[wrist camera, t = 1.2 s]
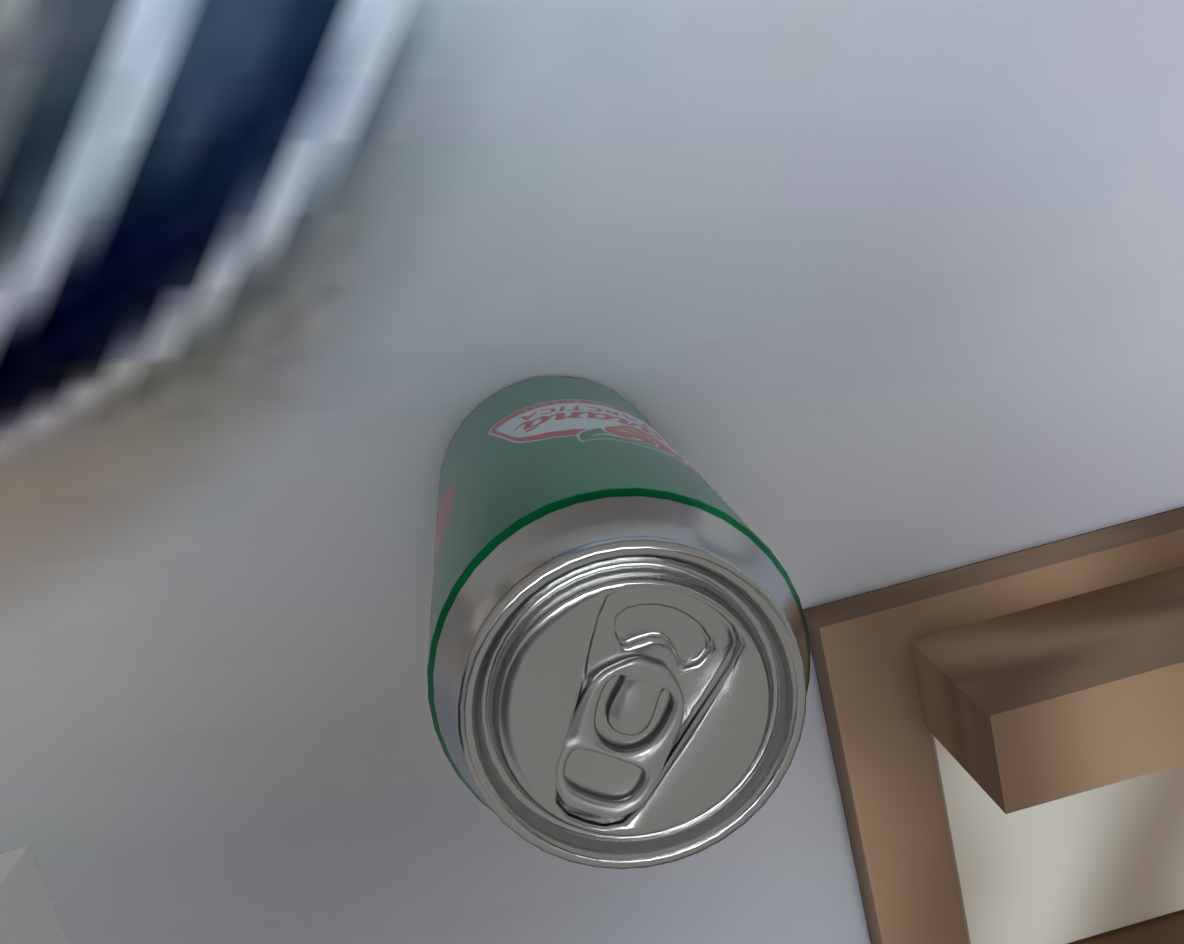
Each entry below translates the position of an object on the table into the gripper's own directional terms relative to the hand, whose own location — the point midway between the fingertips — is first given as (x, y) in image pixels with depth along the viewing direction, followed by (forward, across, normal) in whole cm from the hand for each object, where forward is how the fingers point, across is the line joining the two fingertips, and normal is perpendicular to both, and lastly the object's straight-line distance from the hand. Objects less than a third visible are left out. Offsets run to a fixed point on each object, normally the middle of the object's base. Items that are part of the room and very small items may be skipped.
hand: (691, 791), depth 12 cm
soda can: (+14, 0, 0) cm, 14 cm away
